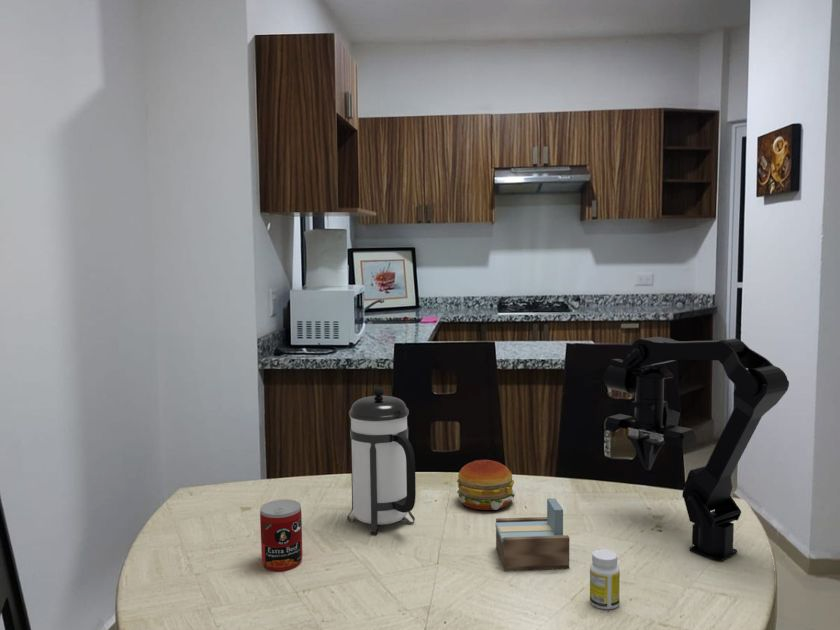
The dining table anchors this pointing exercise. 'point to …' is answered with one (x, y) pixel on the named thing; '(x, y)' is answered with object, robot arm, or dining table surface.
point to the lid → (535, 524)
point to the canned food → (281, 534)
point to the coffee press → (381, 461)
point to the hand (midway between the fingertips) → (648, 469)
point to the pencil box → (532, 550)
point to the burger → (485, 485)
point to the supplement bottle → (604, 579)
